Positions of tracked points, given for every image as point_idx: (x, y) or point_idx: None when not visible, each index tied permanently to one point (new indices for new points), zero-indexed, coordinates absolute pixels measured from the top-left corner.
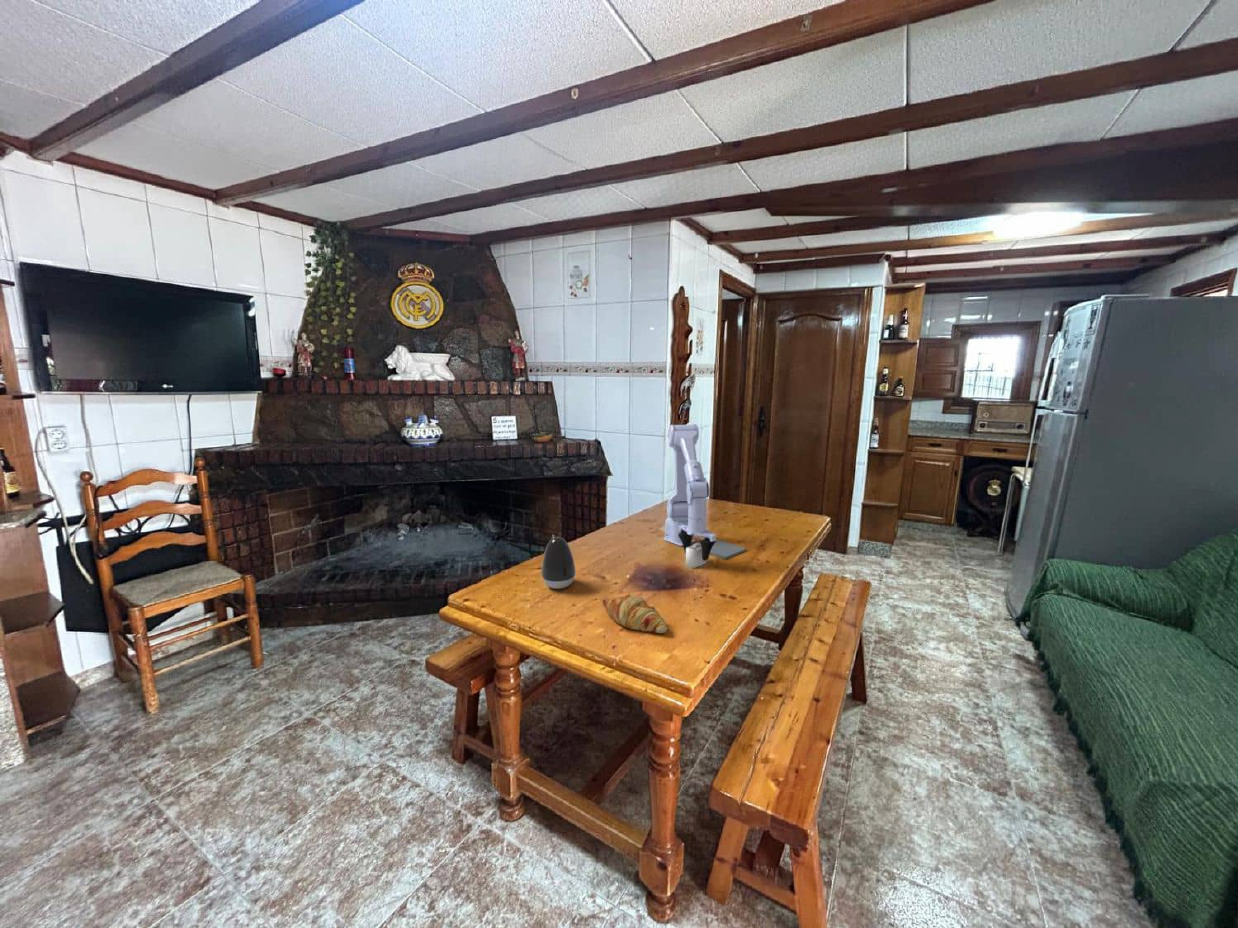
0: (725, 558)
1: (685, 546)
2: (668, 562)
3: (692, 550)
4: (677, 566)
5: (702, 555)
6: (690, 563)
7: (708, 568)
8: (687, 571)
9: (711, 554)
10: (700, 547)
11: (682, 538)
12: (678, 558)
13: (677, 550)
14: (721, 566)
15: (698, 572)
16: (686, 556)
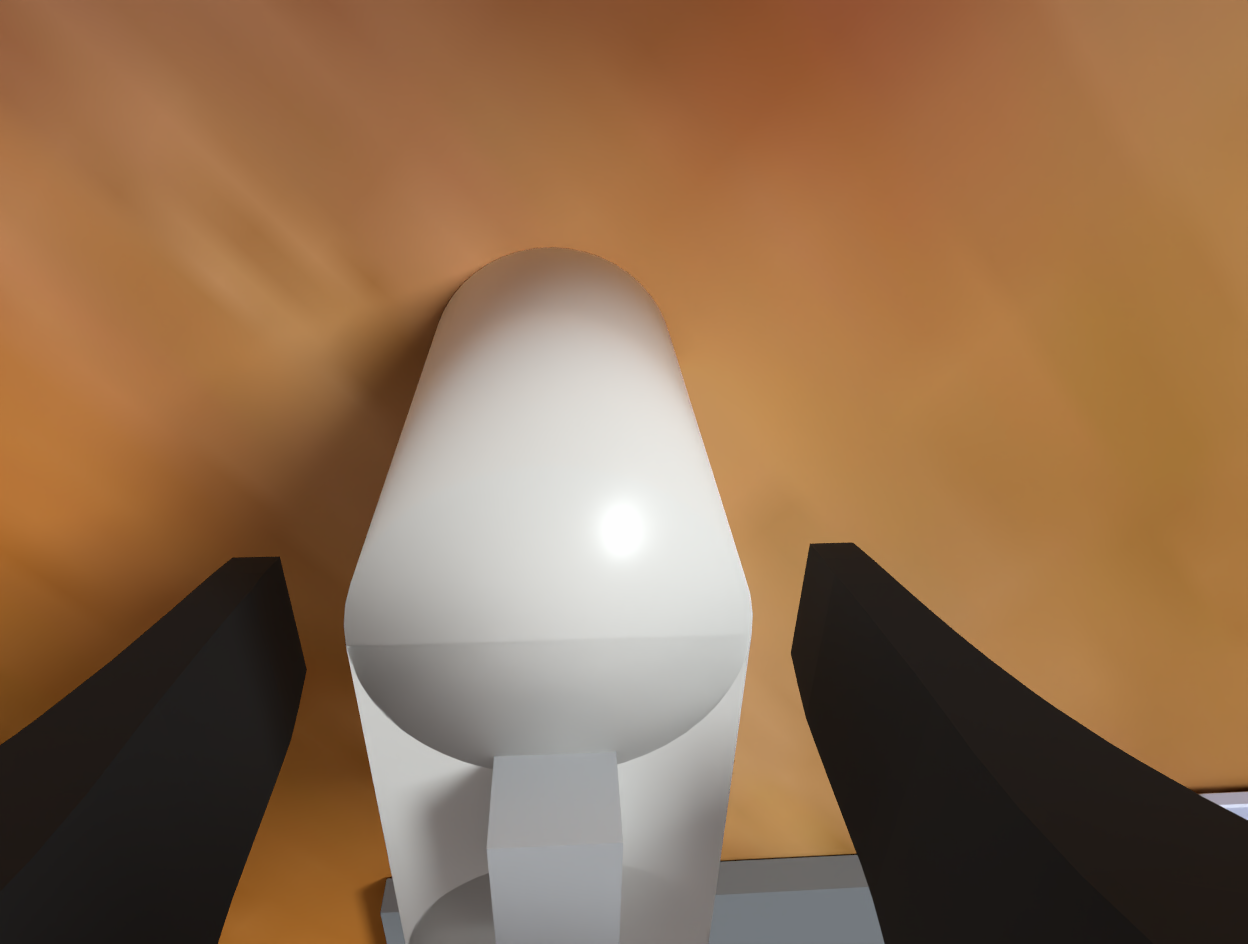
0: (387, 898)
1: (899, 671)
2: (1066, 131)
3: (399, 558)
4: (757, 109)
5: (199, 625)
6: (471, 307)
7: (244, 515)
8: (373, 53)
9: None
10: (443, 853)
11: (1151, 872)
12: (984, 452)
13: (1170, 667)
14: None
15: (174, 217)
16: (610, 356)
